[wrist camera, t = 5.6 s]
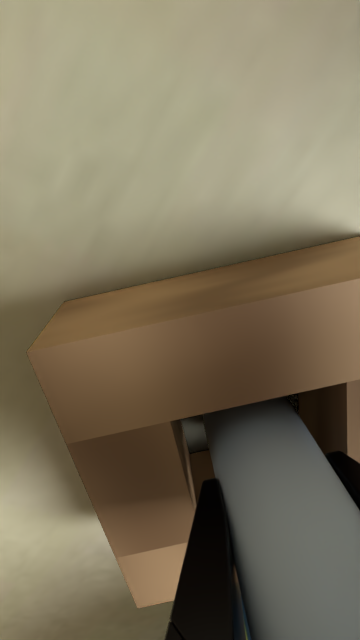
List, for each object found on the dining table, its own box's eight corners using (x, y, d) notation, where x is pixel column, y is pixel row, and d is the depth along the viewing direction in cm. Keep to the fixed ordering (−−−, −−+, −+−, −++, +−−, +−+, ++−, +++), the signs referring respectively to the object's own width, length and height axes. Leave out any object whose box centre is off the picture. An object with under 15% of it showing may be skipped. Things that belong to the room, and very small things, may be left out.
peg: (285, 369, 11) (726, 972, 3) (292, 439, 12) (611, 1012, 4) (195, 389, 11) (343, 1053, 3) (211, 457, 12) (346, 1071, 4)
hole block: (368, 234, 11) (463, 255, 7) (364, 464, 14) (427, 544, 11) (63, 301, 11) (25, 352, 7) (140, 514, 14) (137, 608, 11)
